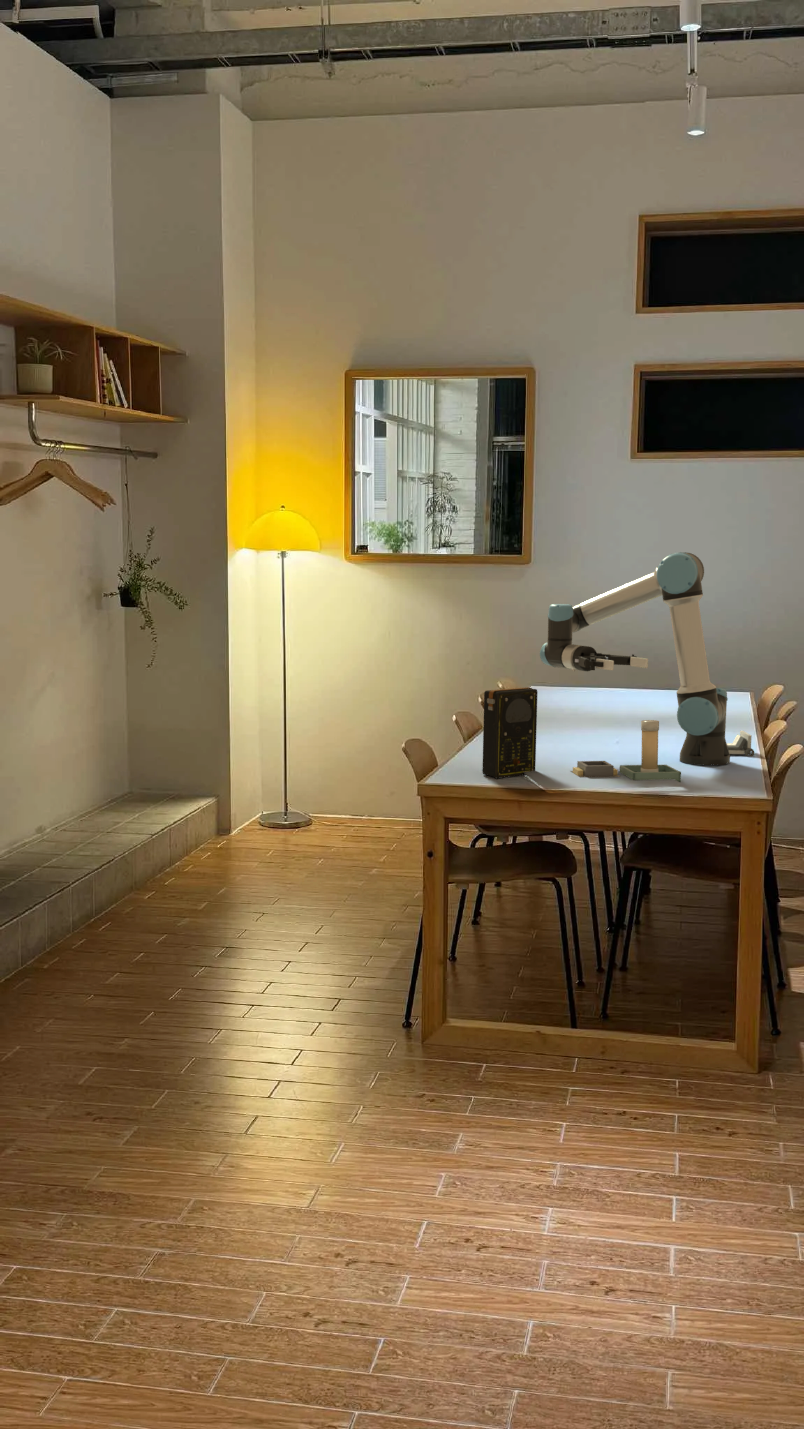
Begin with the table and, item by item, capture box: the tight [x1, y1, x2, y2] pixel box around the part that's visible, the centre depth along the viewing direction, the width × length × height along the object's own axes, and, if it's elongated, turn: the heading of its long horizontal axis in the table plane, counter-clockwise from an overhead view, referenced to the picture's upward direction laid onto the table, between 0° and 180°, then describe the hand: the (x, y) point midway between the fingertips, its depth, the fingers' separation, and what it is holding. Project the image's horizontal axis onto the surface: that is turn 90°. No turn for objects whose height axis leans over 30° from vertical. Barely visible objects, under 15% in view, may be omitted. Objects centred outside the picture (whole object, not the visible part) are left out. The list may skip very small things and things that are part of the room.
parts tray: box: [619, 764, 682, 783], centre depth 378 cm, size 14×12×3 cm
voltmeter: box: [482, 686, 538, 780], centre depth 380 cm, size 16×9×25 cm, turn 126°
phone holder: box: [726, 730, 755, 758], centre depth 424 cm, size 18×10×12 cm
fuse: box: [640, 719, 660, 772], centre depth 377 cm, size 5×5×16 cm
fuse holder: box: [569, 760, 621, 778], centre depth 379 cm, size 12×10×4 cm
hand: (630, 664), depth 382 cm, fingers open, 13 cm apart
